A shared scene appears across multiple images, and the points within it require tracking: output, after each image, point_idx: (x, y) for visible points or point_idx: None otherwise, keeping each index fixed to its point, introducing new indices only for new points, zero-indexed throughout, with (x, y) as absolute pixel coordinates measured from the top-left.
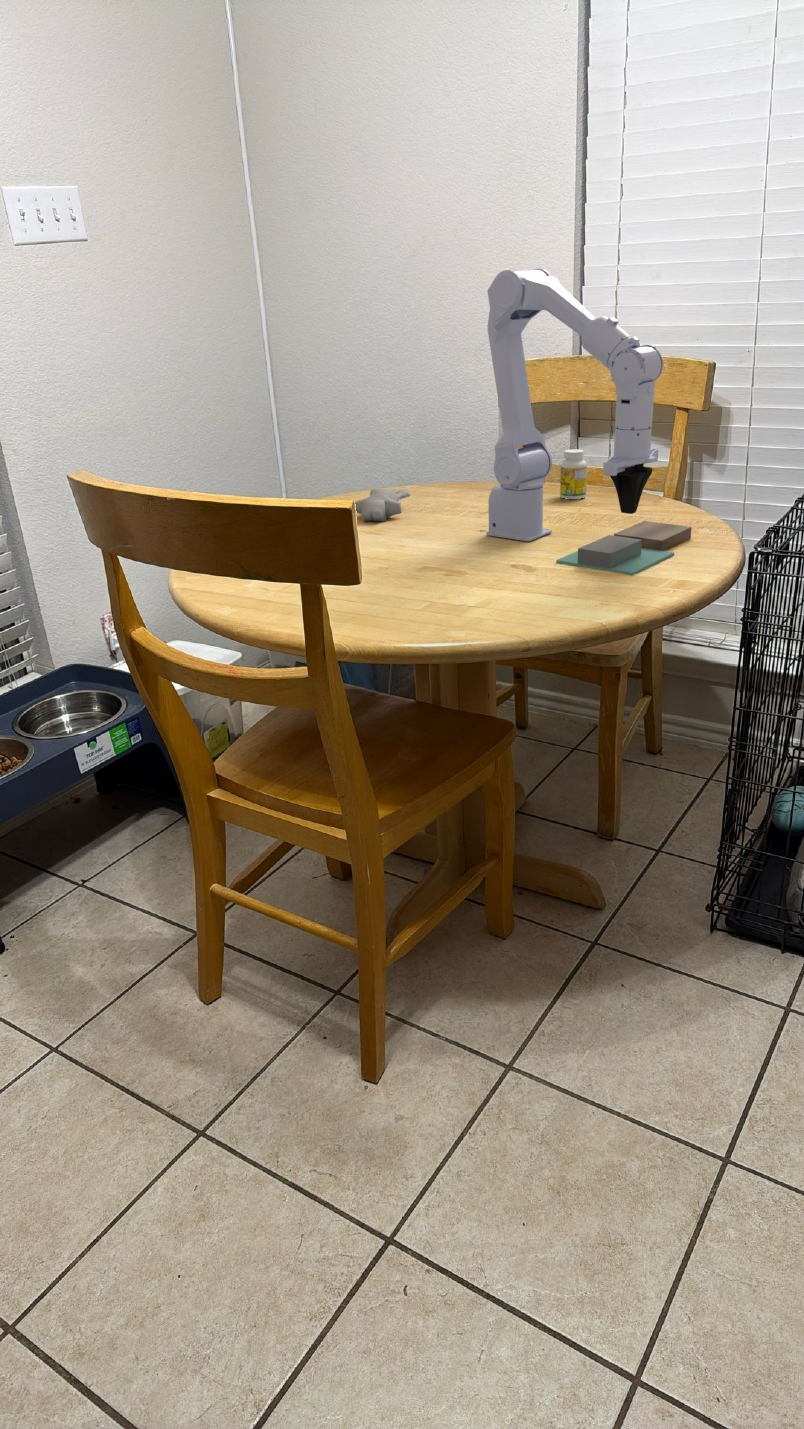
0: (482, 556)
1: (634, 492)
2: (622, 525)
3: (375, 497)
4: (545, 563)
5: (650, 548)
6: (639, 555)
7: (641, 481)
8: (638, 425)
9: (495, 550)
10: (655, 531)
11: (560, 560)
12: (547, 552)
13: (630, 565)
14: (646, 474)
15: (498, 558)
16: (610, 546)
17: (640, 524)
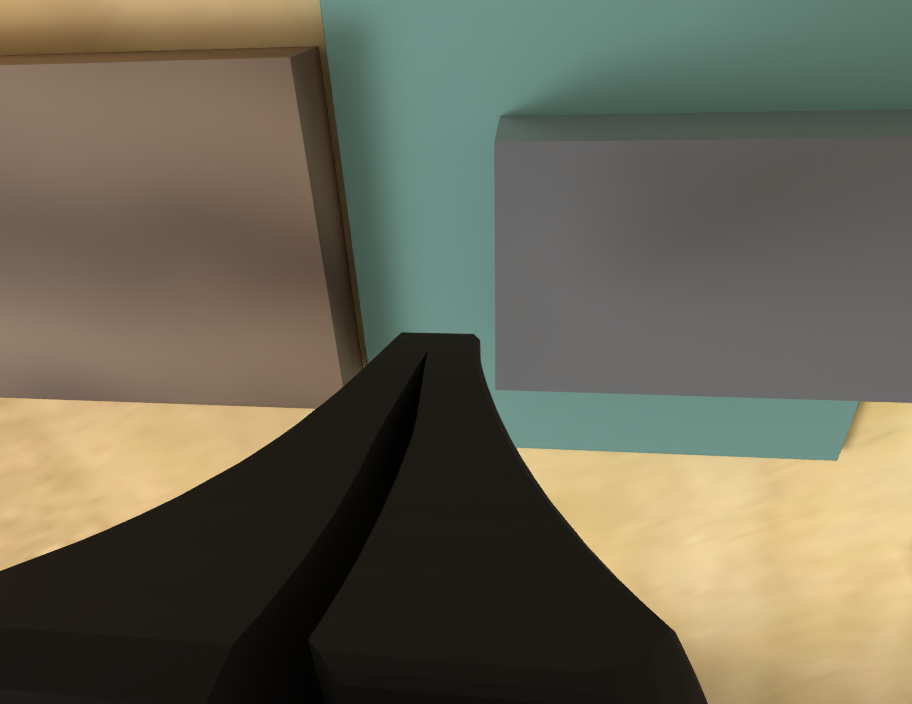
0: (825, 691)
1: (523, 461)
2: (33, 484)
3: None
4: (862, 483)
5: (325, 139)
6: (529, 111)
7: (387, 540)
8: None
9: (713, 688)
10: (119, 232)
11: (838, 442)
12: (653, 547)
13: (822, 24)
14: (234, 614)
15: (837, 646)
16: (804, 247)
17: (67, 381)
